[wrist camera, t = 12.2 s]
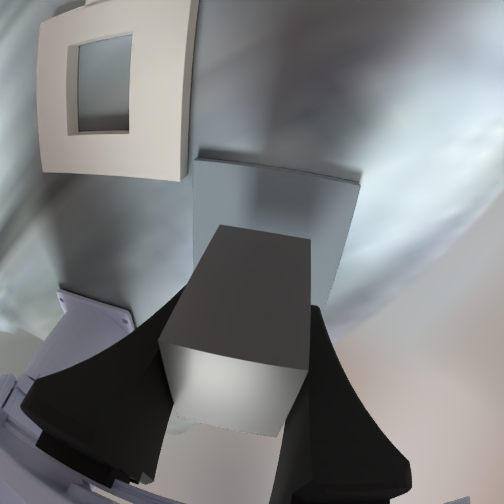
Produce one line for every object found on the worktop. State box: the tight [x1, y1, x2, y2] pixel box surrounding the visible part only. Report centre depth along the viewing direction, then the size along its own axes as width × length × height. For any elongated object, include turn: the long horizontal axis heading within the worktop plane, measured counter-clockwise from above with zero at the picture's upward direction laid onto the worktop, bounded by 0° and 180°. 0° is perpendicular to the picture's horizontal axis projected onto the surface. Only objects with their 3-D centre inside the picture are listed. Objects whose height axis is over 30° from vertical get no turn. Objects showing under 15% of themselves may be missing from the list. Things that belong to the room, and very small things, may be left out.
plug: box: [158, 224, 311, 437], centre depth 10 cm, size 5×4×6 cm
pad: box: [193, 158, 360, 311], centre depth 16 cm, size 8×8×1 cm
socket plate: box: [36, 0, 199, 182], centre depth 9 cm, size 12×10×6 cm
